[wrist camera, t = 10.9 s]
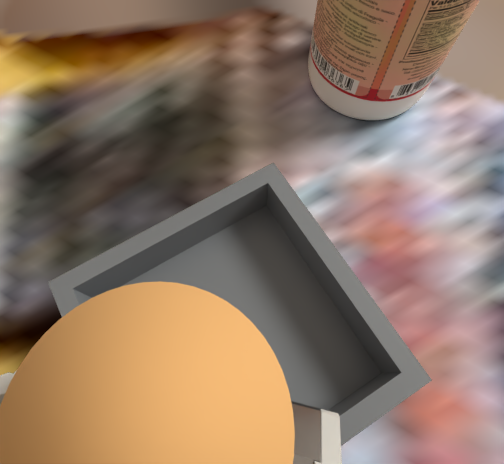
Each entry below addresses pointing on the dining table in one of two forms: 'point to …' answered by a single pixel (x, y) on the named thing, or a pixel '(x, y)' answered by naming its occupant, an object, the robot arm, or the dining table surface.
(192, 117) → the dining table surface
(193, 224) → the open square box
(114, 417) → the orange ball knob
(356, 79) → the fruit juice
